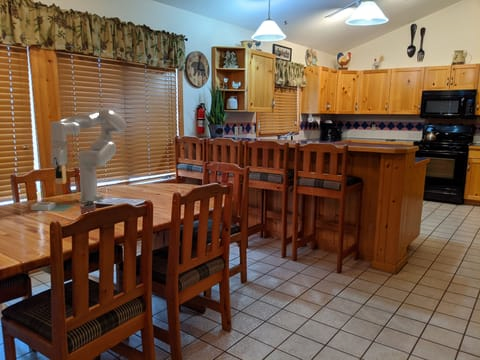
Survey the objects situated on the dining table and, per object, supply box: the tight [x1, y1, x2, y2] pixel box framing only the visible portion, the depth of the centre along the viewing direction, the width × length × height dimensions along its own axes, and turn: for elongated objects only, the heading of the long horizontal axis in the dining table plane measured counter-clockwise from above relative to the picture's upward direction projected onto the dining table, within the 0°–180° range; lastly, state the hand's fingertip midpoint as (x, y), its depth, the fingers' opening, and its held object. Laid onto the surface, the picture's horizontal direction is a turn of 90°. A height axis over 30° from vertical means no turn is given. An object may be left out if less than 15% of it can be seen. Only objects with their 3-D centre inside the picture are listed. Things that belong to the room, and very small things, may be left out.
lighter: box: [79, 200, 97, 215], centre depth 190 cm, size 8×3×10 cm, turn 141°
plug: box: [54, 165, 67, 185], centre depth 207 cm, size 5×4×10 cm
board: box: [30, 201, 75, 212], centre depth 209 cm, size 18×14×4 cm
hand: (60, 177), depth 208 cm, fingers closed on plug, 4 cm apart
